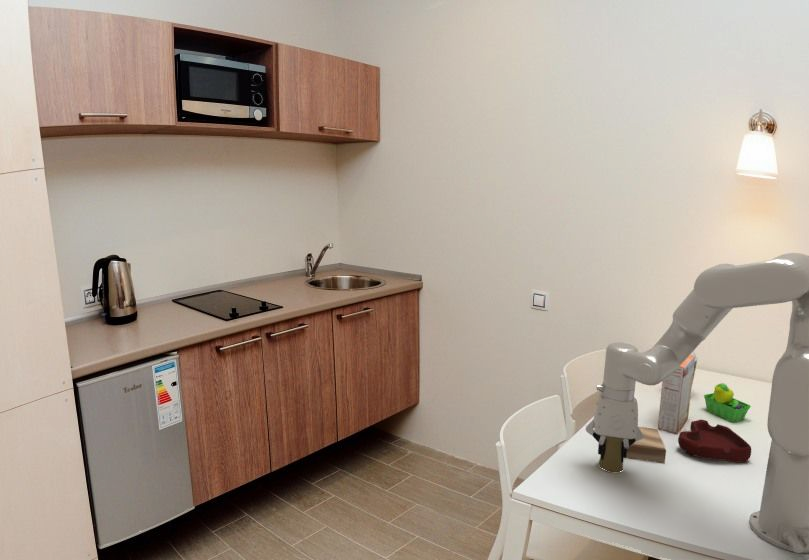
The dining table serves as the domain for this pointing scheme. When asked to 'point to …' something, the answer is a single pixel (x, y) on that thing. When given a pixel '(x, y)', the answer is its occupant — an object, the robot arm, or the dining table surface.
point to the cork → (612, 455)
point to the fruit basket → (725, 404)
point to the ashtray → (714, 442)
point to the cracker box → (676, 397)
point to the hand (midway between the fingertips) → (611, 457)
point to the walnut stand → (648, 446)
